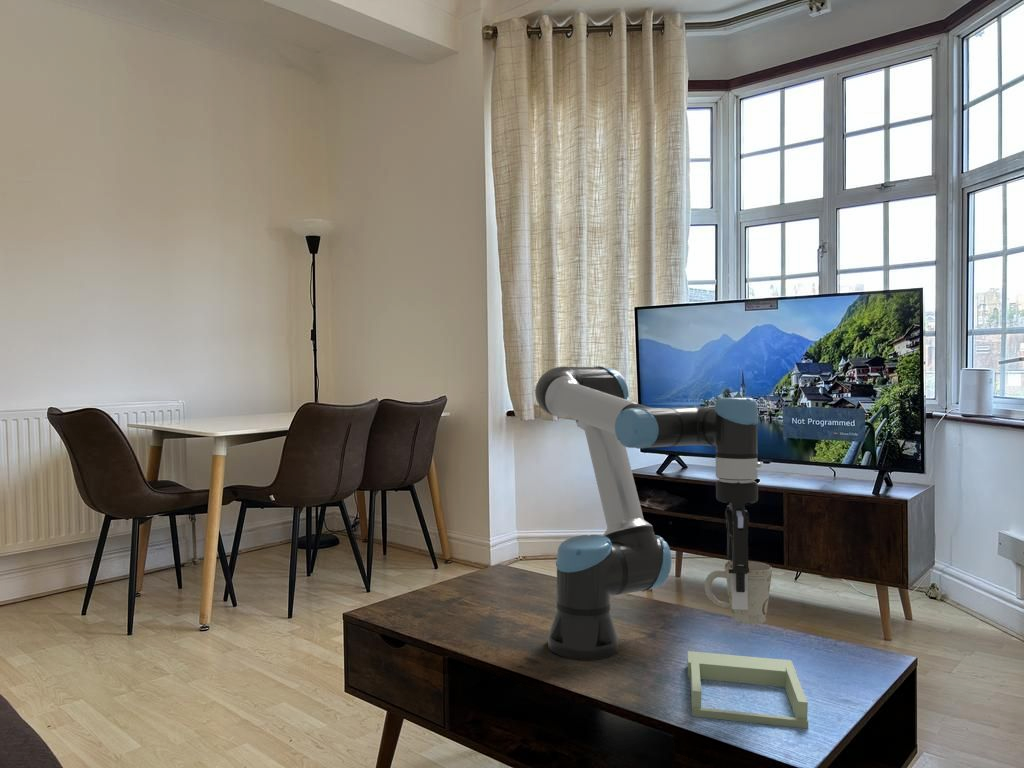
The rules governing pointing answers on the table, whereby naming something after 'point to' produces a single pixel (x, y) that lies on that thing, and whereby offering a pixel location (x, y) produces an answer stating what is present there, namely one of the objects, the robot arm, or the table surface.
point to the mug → (756, 592)
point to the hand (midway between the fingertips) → (737, 601)
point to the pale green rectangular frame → (747, 672)
